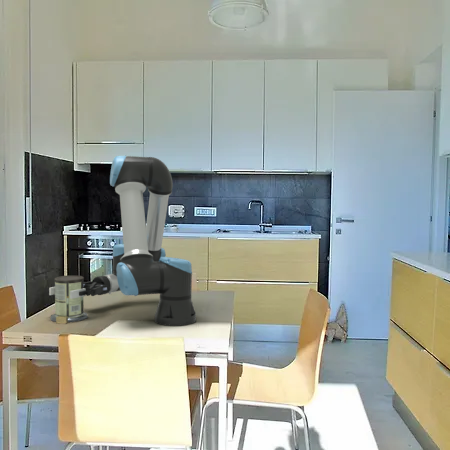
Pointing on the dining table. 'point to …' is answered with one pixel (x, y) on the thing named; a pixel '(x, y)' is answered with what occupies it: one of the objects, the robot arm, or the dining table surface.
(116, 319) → the dining table surface
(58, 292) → the coffee can
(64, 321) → the lock base
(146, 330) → the dining table surface
